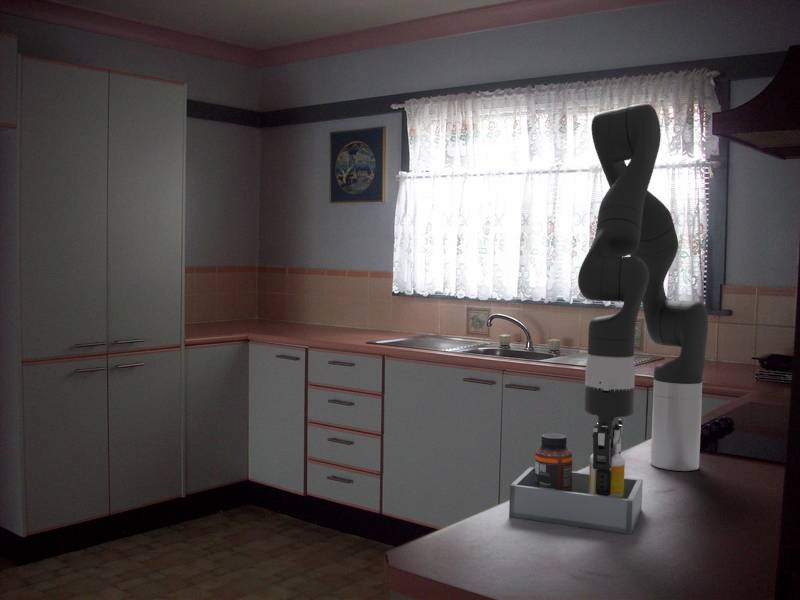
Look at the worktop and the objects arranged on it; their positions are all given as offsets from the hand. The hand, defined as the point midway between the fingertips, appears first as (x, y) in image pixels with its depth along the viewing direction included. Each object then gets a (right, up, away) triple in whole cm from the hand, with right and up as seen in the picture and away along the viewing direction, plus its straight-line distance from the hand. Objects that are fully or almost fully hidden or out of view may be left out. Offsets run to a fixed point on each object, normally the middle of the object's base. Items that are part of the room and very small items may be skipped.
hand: (606, 489), depth 130 cm
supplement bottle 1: (-8, -3, +4) cm, 9 cm away
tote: (-4, -4, +2) cm, 6 cm away
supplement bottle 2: (0, -2, 0) cm, 2 cm away
